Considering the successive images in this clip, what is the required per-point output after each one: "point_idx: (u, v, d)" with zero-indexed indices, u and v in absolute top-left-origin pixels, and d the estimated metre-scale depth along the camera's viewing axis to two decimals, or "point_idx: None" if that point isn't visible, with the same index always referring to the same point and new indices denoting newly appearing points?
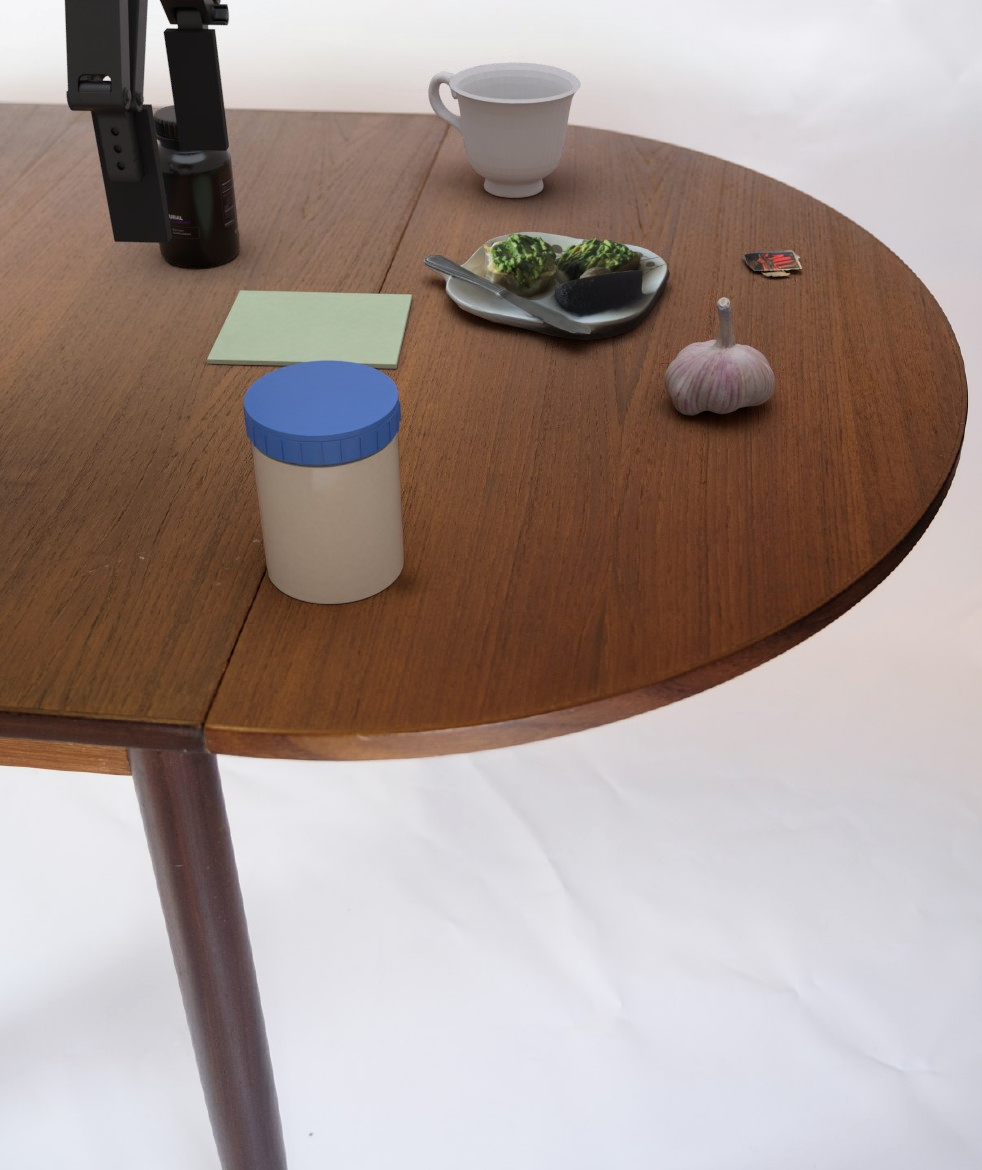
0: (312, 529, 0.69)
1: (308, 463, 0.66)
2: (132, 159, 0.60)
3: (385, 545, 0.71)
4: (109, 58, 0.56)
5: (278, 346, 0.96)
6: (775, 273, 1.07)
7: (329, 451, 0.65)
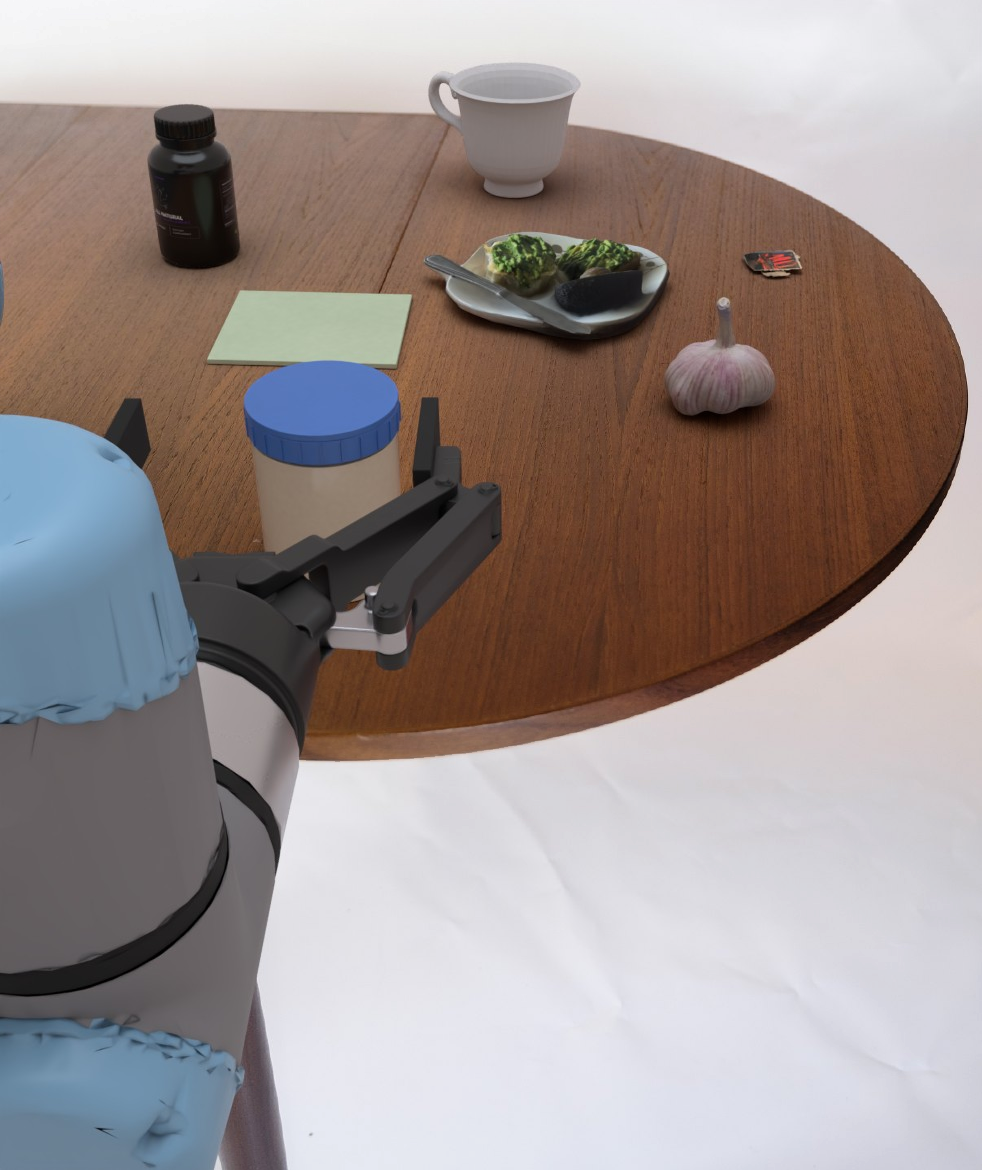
0: (312, 529, 0.69)
1: (308, 463, 0.66)
2: None
3: None
4: None
5: (278, 346, 0.96)
6: (775, 272, 1.07)
7: (329, 451, 0.65)
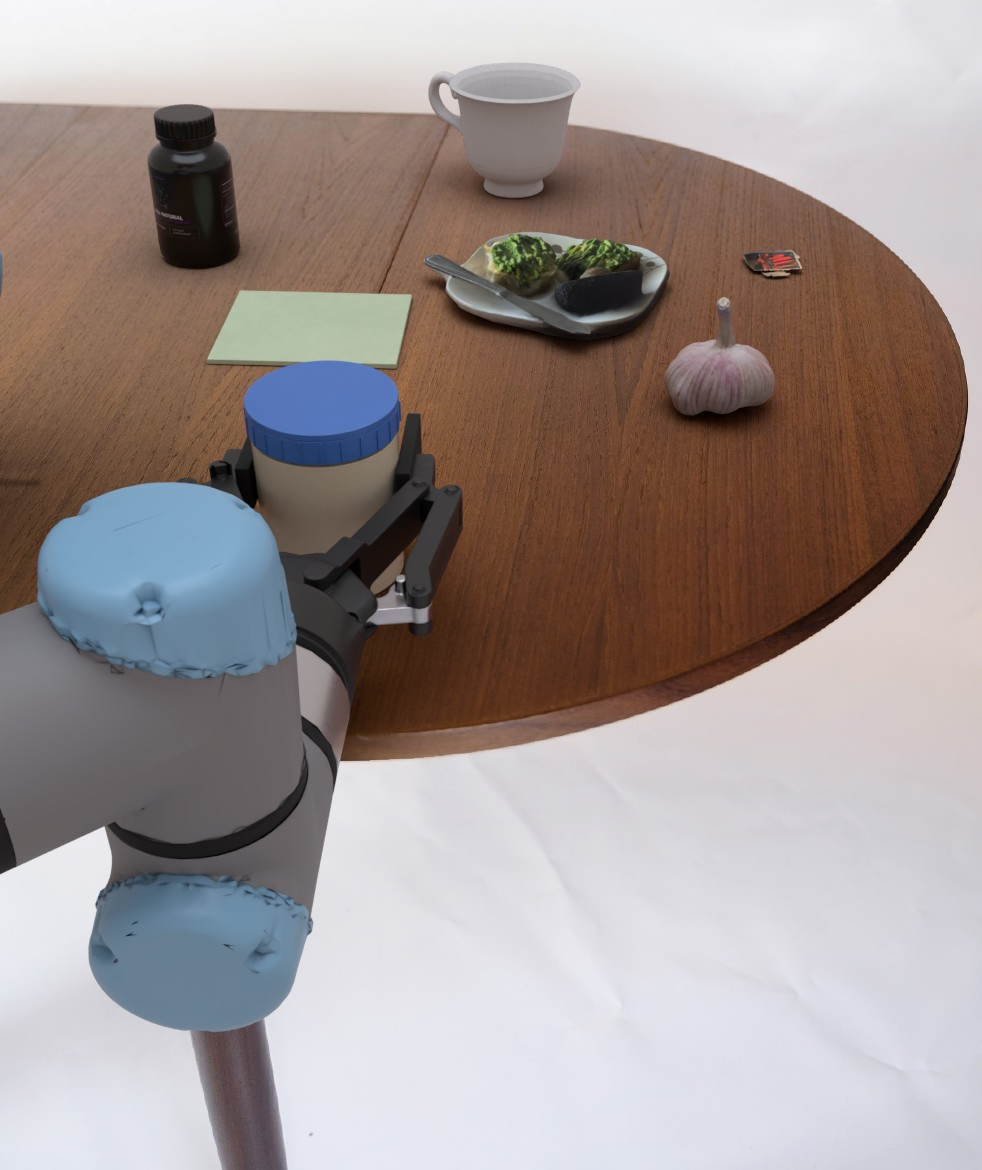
0: (312, 529, 0.68)
1: (308, 463, 0.66)
2: None
3: None
4: None
5: (278, 346, 0.96)
6: (775, 272, 1.07)
7: (329, 451, 0.65)
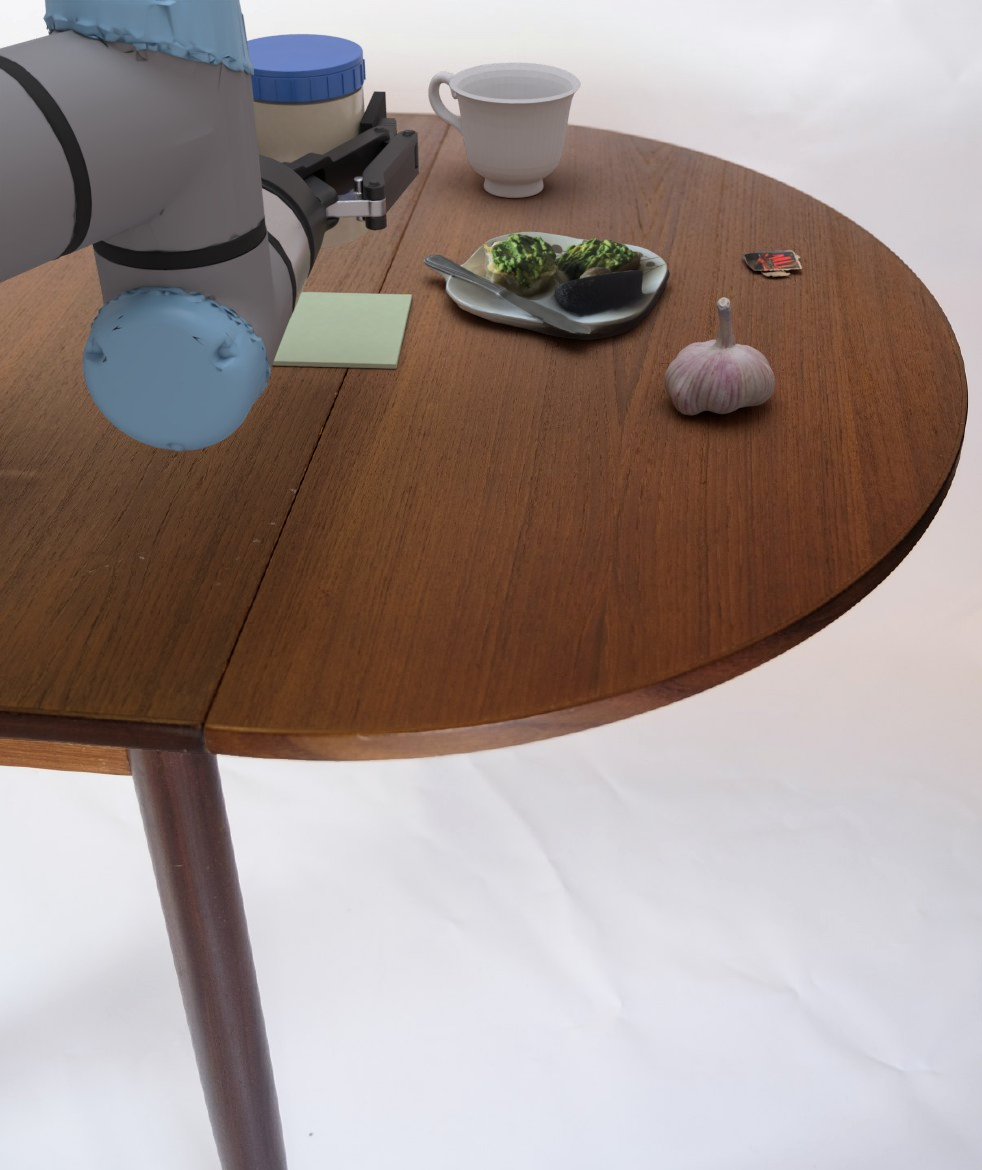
0: None
1: (282, 100, 0.75)
2: None
3: None
4: None
5: None
6: (775, 272, 1.07)
7: (300, 88, 0.75)
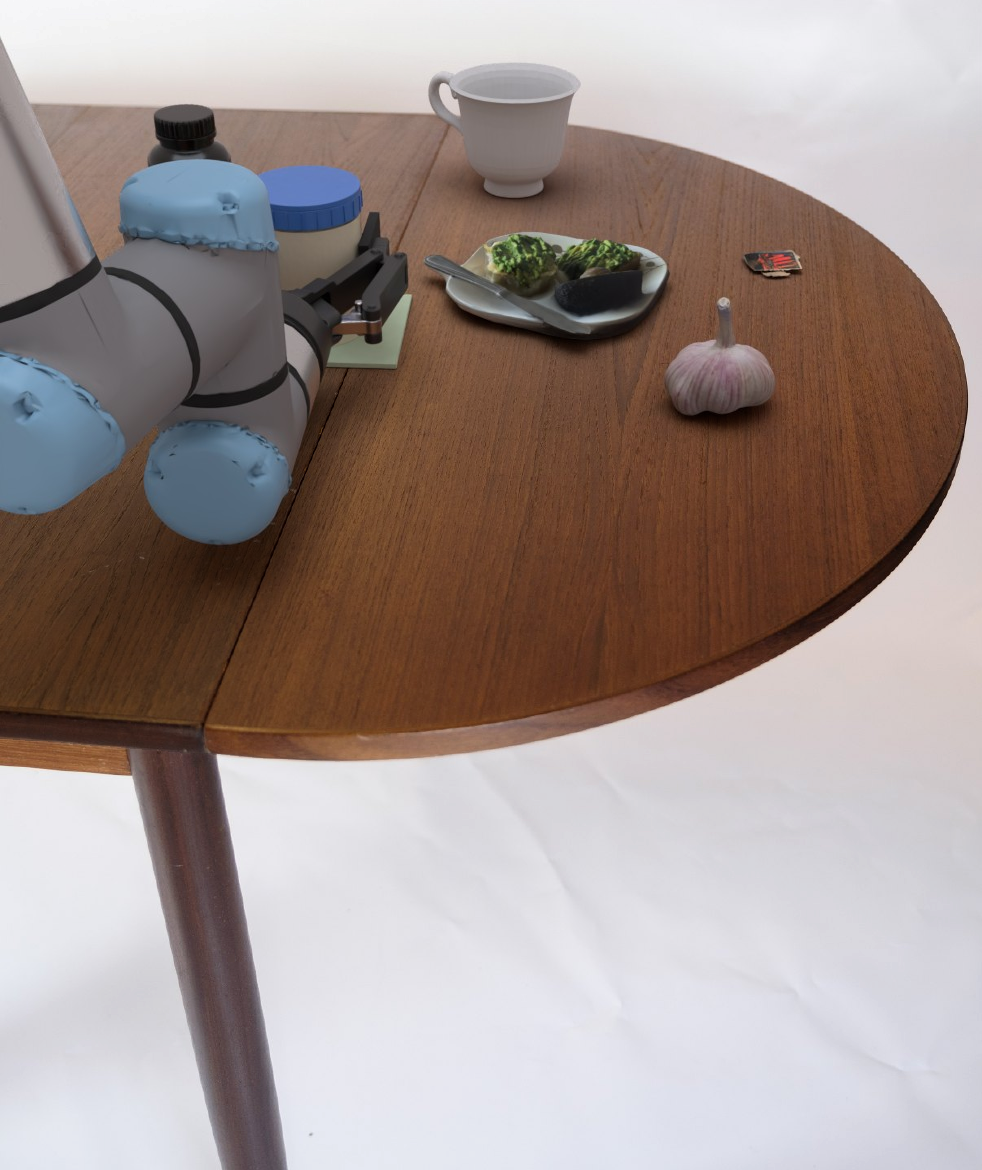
0: (296, 284, 0.92)
1: (293, 229, 0.90)
2: None
3: None
4: None
5: None
6: (775, 272, 1.07)
7: (308, 219, 0.89)
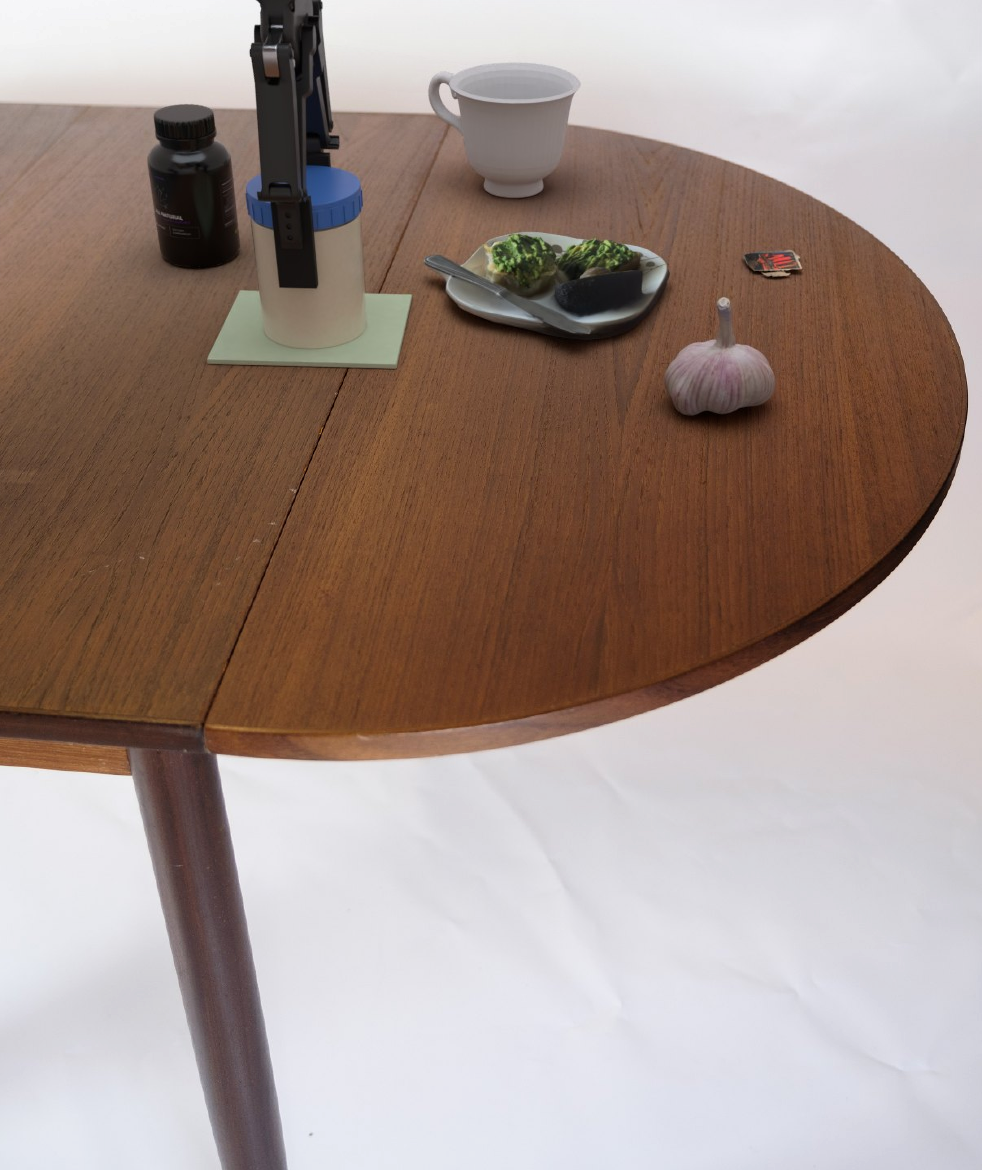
0: None
1: None
2: (298, 233, 0.88)
3: (351, 303, 0.95)
4: (289, 172, 0.84)
5: (278, 346, 0.96)
6: (775, 273, 1.07)
7: None
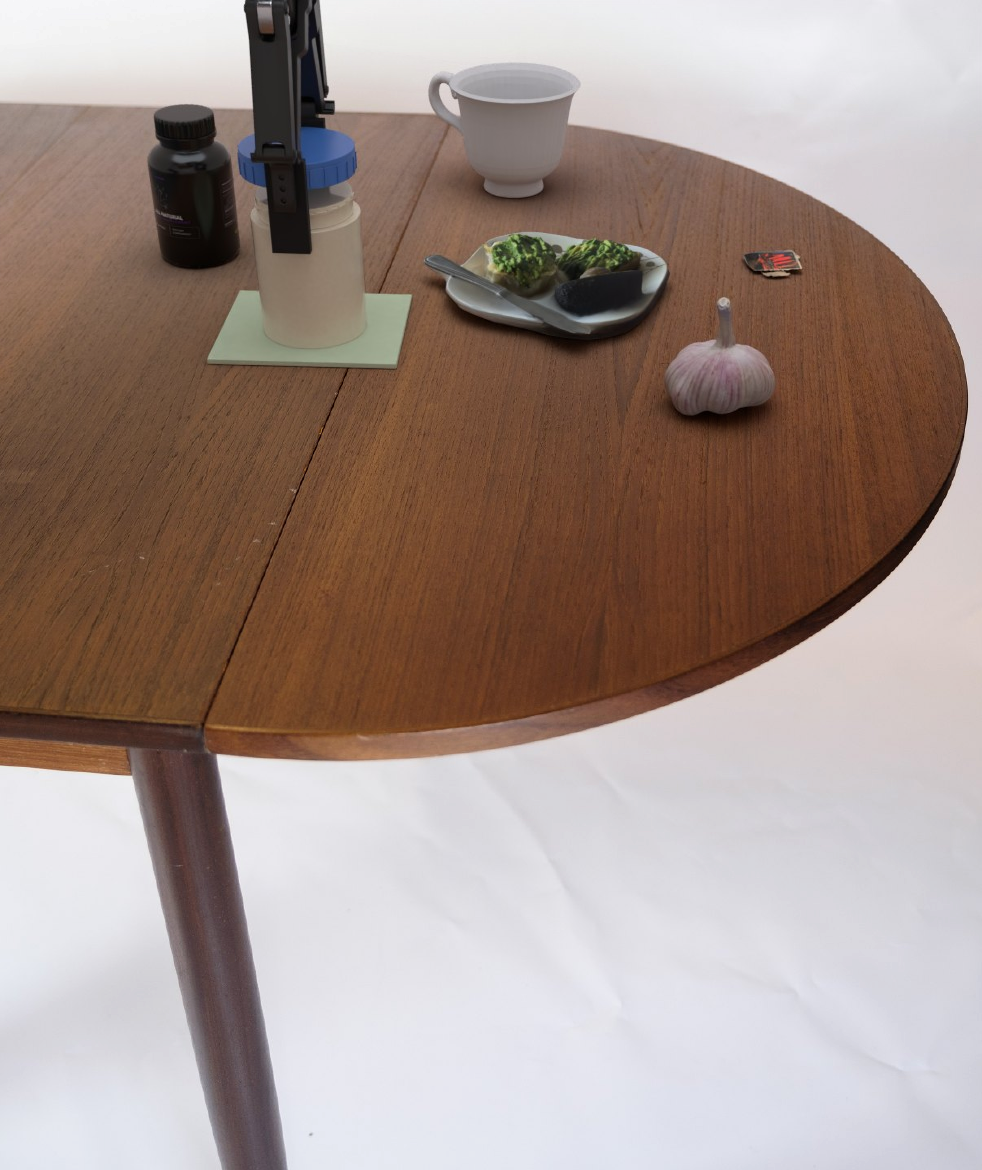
0: (296, 284, 0.92)
1: None
2: None
3: (351, 303, 0.95)
4: None
5: (278, 346, 0.96)
6: (775, 272, 1.07)
7: None
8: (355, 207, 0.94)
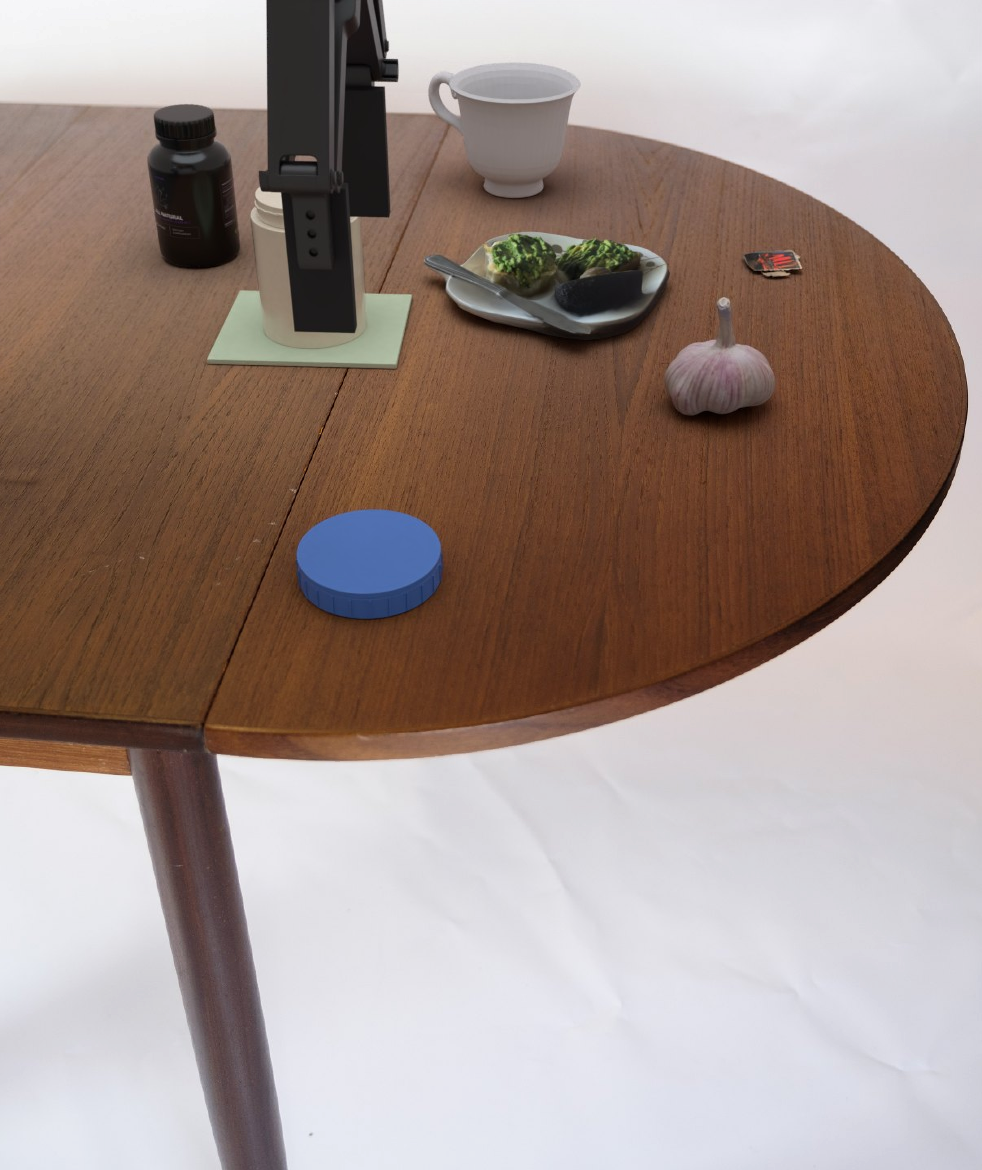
0: None
1: None
2: None
3: None
4: None
5: (278, 346, 0.96)
6: (775, 272, 1.07)
7: None
8: None
